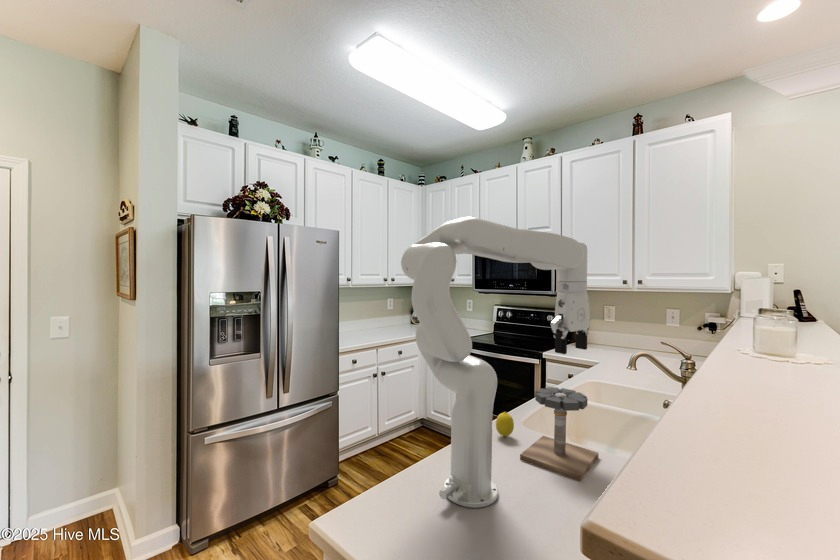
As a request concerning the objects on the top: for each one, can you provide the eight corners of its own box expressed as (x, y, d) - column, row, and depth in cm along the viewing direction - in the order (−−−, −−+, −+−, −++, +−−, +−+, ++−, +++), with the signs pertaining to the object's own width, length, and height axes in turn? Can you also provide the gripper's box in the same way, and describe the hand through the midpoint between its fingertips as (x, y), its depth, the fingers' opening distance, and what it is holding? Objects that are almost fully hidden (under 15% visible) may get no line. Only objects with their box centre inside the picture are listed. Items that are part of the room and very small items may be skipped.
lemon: (502, 431, 120) (503, 407, 120) (517, 437, 116) (517, 412, 115) (491, 436, 116) (492, 411, 116) (506, 442, 112) (506, 416, 112)
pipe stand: (580, 481, 91) (581, 409, 91) (520, 459, 102) (521, 395, 102) (598, 457, 104) (599, 394, 103) (542, 440, 114) (544, 382, 114)
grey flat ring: (577, 414, 93) (577, 406, 93) (528, 402, 102) (528, 395, 102) (592, 401, 103) (592, 394, 103) (546, 391, 112) (547, 384, 112)
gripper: (565, 289, 92) (565, 357, 92) (602, 288, 102) (601, 349, 102) (540, 288, 98) (539, 352, 98) (576, 287, 108) (576, 345, 108)
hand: (571, 350), depth 100 cm, fingers open, 9 cm apart
